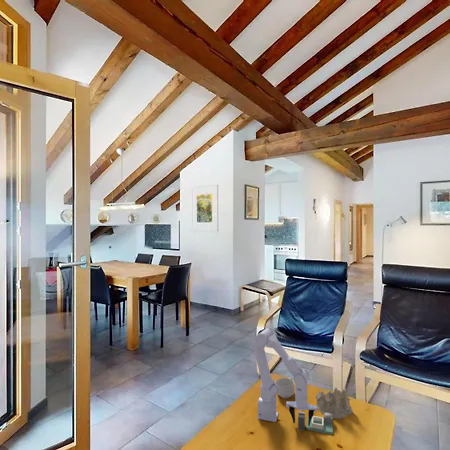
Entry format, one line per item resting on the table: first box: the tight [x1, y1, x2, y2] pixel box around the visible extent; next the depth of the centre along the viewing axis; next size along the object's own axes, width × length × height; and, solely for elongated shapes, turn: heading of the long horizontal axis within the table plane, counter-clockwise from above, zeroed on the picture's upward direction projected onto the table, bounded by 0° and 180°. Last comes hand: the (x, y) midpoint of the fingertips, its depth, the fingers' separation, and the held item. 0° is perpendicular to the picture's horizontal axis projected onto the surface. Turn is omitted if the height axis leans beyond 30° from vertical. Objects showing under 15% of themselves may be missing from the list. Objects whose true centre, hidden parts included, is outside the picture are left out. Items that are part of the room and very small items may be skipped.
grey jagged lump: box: [315, 387, 353, 420], centre depth 168 cm, size 16×16×15 cm
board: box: [306, 413, 334, 435], centre depth 154 cm, size 12×10×4 cm
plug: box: [297, 411, 306, 432], centre depth 153 cm, size 3×4×7 cm
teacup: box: [275, 376, 295, 399], centre depth 182 cm, size 14×11×8 cm
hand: (301, 423), depth 153 cm, fingers open, 6 cm apart
